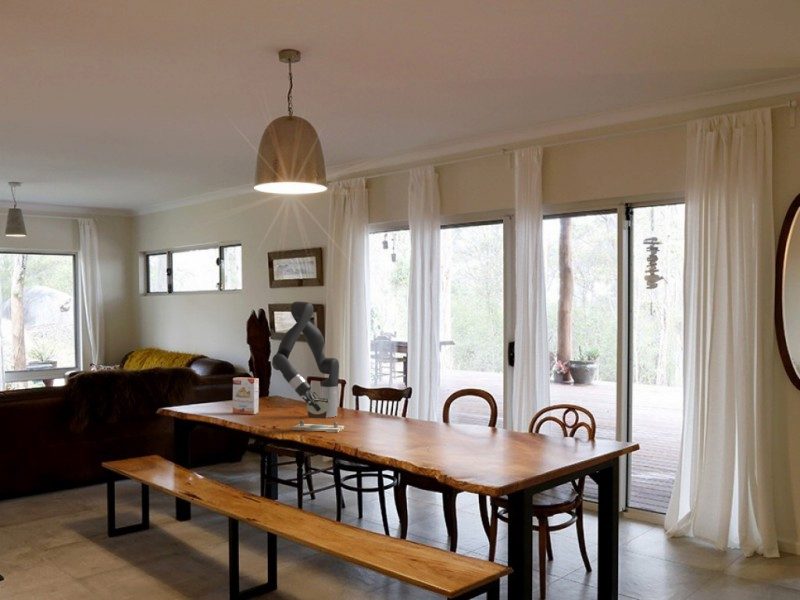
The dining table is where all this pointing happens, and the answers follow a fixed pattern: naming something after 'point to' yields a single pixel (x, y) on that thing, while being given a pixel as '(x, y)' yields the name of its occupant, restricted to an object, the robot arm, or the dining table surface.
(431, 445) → the dining table surface
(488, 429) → the dining table surface
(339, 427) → the board
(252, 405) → the cracker box
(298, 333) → the robot arm
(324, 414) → the food container
